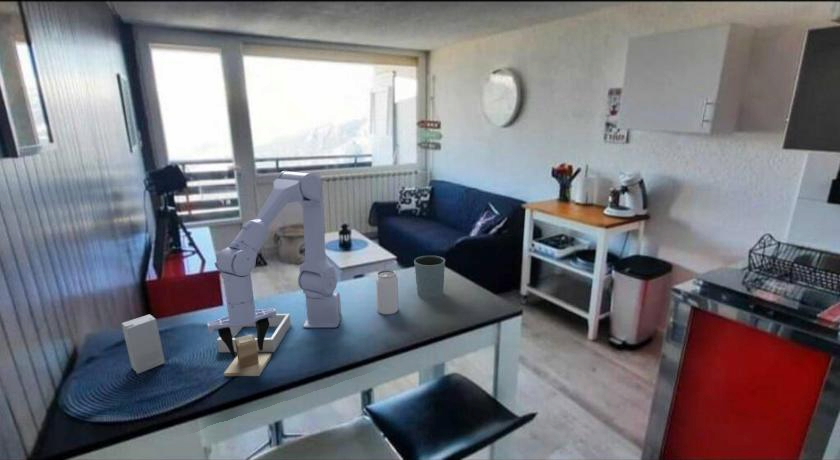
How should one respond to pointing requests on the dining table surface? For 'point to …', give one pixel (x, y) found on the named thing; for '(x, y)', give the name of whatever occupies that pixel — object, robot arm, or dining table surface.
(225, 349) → the white square frame
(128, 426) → the dining table surface
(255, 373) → the birch pad
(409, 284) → the dining table surface
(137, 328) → the skincare box
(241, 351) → the oak block
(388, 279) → the can
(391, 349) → the dining table surface
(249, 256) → the robot arm
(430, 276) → the grey-green cup
